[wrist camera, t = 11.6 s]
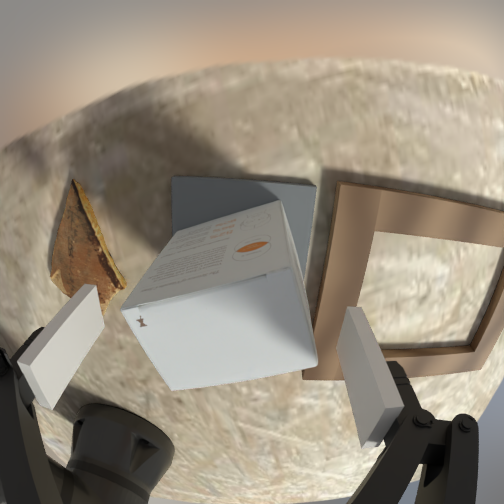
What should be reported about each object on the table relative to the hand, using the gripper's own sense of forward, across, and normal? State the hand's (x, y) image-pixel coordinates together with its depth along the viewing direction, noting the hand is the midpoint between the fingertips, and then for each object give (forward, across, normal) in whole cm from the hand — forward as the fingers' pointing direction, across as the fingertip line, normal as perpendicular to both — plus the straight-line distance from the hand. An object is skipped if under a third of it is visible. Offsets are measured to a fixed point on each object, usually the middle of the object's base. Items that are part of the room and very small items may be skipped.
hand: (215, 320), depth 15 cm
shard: (+10, -14, -2) cm, 17 cm away
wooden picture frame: (+9, +18, -3) cm, 20 cm away
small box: (+8, +1, 0) cm, 9 cm away
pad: (+9, +1, 0) cm, 9 cm away
